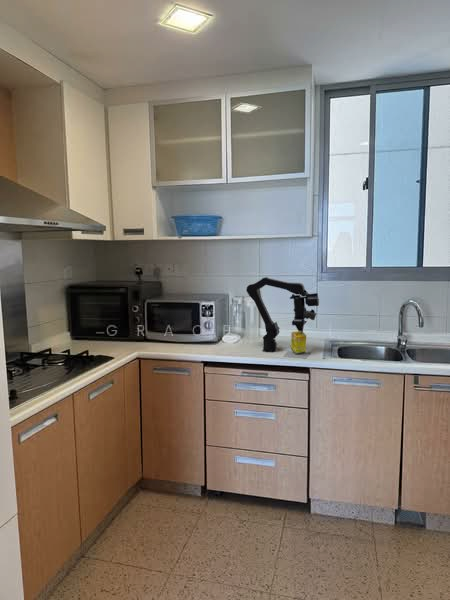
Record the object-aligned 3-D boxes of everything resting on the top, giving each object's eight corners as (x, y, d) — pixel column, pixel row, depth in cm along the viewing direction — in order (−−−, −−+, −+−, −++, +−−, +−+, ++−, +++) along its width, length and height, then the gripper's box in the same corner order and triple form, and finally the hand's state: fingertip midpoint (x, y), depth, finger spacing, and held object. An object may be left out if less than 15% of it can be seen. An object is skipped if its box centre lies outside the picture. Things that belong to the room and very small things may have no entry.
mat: (283, 356, 216) (283, 356, 216) (287, 351, 227) (287, 350, 227) (306, 358, 211) (306, 358, 211) (309, 352, 223) (309, 352, 222)
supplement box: (290, 349, 223) (291, 331, 219) (300, 347, 225) (301, 330, 221) (295, 355, 218) (296, 336, 214) (305, 352, 220) (306, 334, 215)
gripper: (312, 309, 209) (314, 338, 211) (316, 303, 226) (318, 330, 228) (290, 309, 212) (292, 339, 214) (296, 303, 230) (298, 331, 232)
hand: (301, 334), depth 222 cm, fingers closed
